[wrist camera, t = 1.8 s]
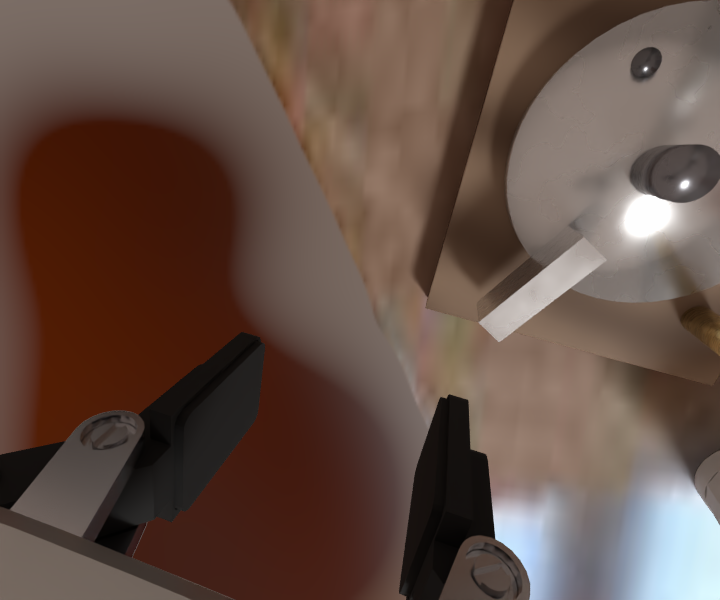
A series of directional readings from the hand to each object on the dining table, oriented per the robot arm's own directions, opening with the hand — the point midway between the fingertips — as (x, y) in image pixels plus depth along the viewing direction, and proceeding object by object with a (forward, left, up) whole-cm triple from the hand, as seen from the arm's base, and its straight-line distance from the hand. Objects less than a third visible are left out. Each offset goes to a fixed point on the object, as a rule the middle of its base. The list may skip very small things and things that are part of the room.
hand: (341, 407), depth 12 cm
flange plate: (-7, +10, -15) cm, 20 cm away
